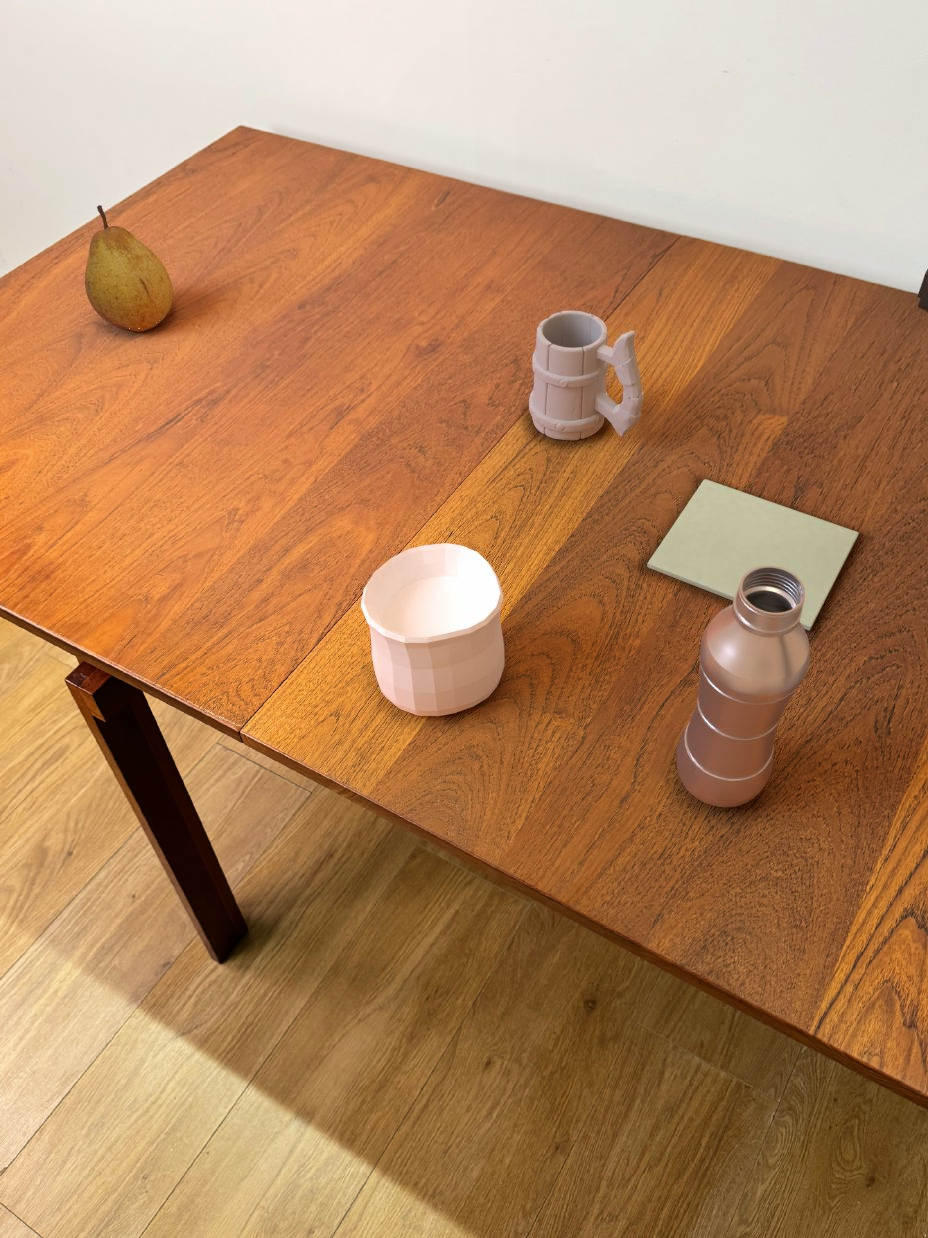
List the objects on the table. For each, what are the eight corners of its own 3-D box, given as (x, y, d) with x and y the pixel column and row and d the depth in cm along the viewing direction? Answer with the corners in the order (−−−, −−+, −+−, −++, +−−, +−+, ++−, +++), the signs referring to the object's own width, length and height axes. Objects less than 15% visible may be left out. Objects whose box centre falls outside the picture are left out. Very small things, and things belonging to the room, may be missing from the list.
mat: (857, 536, 85) (859, 532, 84) (809, 631, 78) (811, 627, 78) (703, 482, 90) (704, 478, 90) (646, 567, 84) (647, 563, 83)
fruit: (165, 343, 108) (132, 239, 99) (86, 338, 109) (46, 235, 100) (191, 298, 113) (162, 196, 104) (116, 294, 115) (81, 193, 105)
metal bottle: (779, 760, 71) (849, 570, 56) (745, 835, 67) (810, 653, 52) (693, 724, 73) (738, 531, 58) (656, 795, 70) (694, 609, 54)
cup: (529, 665, 78) (530, 581, 70) (442, 748, 73) (433, 667, 65) (439, 606, 82) (431, 520, 74) (352, 681, 77) (334, 598, 70)
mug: (560, 383, 100) (564, 275, 91) (659, 430, 95) (674, 320, 86) (512, 421, 97) (511, 313, 88) (612, 472, 91) (622, 362, 82)
